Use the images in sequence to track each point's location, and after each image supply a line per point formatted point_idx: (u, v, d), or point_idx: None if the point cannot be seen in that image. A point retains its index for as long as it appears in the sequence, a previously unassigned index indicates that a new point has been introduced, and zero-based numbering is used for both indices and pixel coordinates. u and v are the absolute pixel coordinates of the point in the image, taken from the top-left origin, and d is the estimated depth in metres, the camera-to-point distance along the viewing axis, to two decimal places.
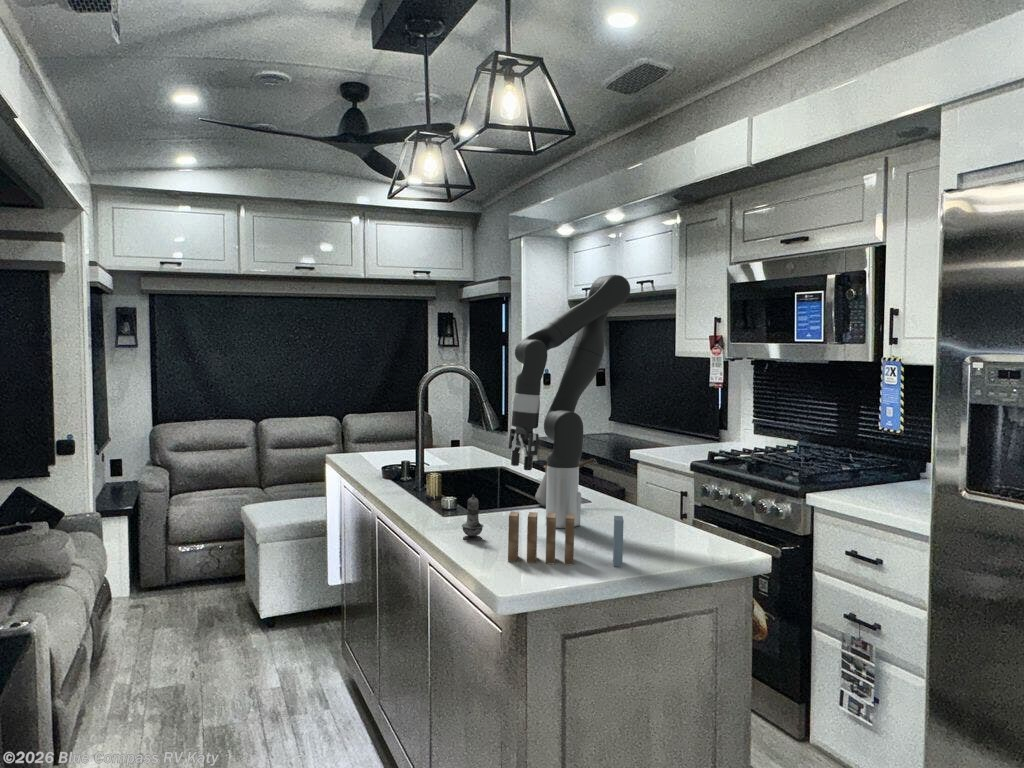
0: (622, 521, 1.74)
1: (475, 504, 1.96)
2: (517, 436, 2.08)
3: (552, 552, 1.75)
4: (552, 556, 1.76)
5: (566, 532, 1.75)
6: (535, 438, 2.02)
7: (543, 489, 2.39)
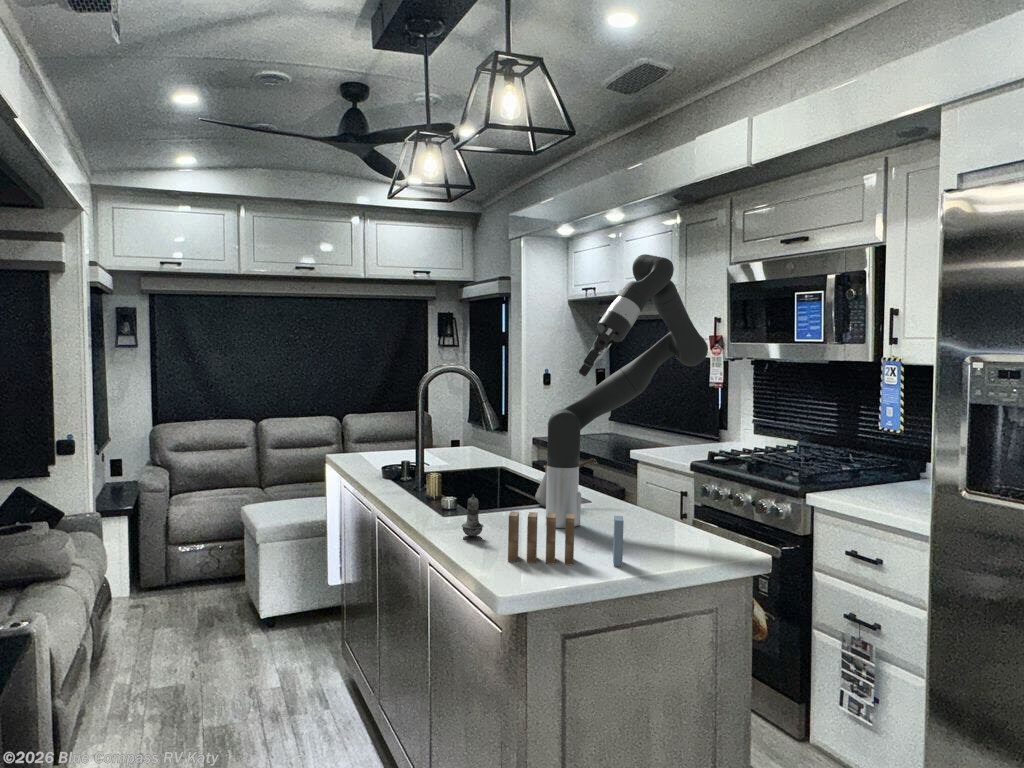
0: (622, 521, 1.74)
1: (475, 504, 1.96)
2: None
3: (552, 552, 1.75)
4: (552, 556, 1.76)
5: (566, 532, 1.75)
6: (609, 332, 1.78)
7: (543, 489, 2.39)
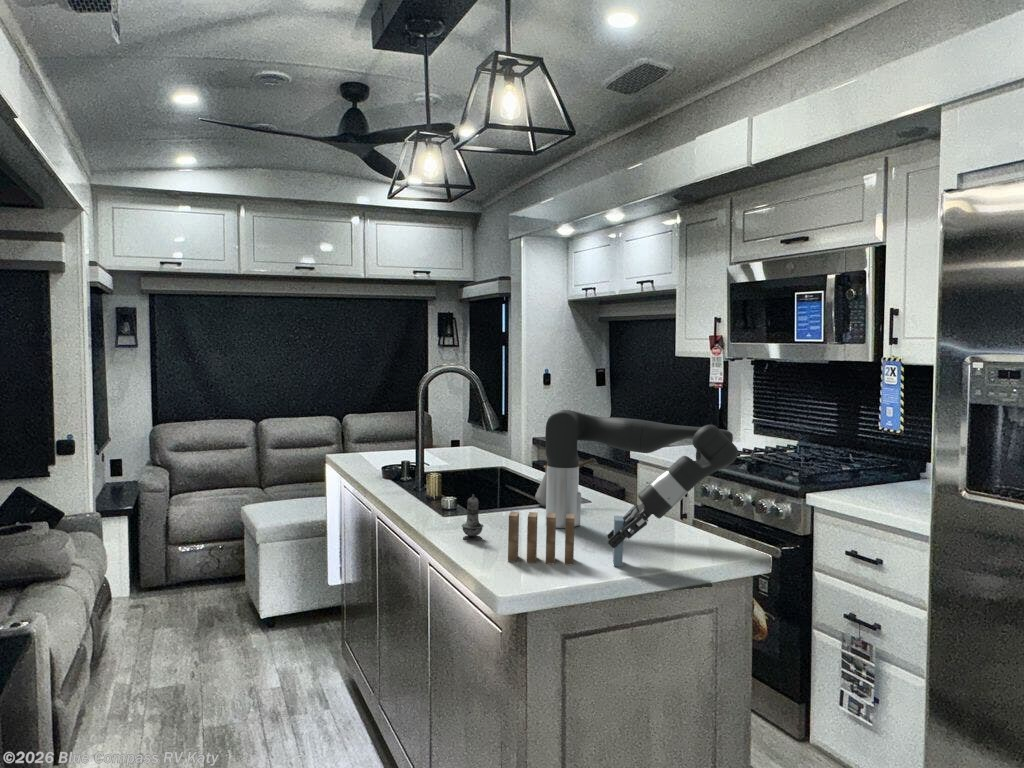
0: (622, 521, 1.74)
1: (474, 504, 1.96)
2: (635, 509, 1.76)
3: (552, 552, 1.75)
4: (552, 556, 1.76)
5: (566, 532, 1.75)
6: (640, 524, 1.69)
7: (543, 489, 2.39)
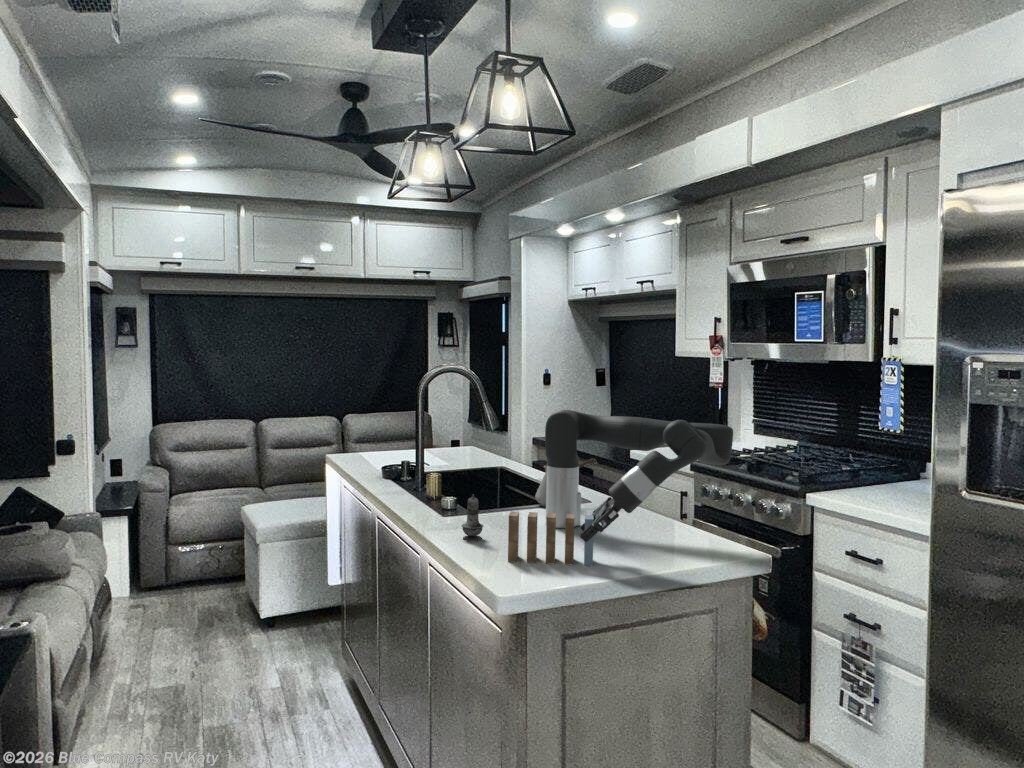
0: (592, 520, 1.74)
1: (474, 504, 1.96)
2: None
3: (552, 552, 1.75)
4: (552, 556, 1.76)
5: (566, 532, 1.75)
6: (612, 516, 1.69)
7: (543, 489, 2.39)
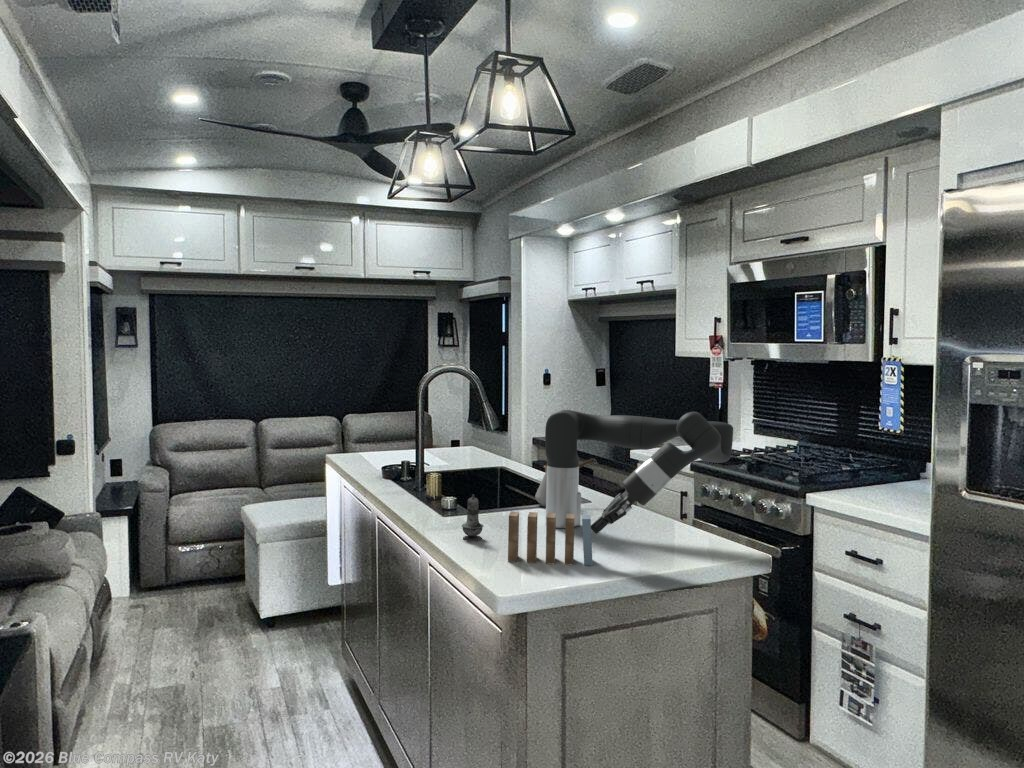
0: (589, 519, 1.74)
1: (475, 504, 1.96)
2: (619, 496, 1.76)
3: (552, 552, 1.75)
4: (552, 556, 1.76)
5: (566, 532, 1.75)
6: (619, 514, 1.70)
7: (543, 489, 2.39)
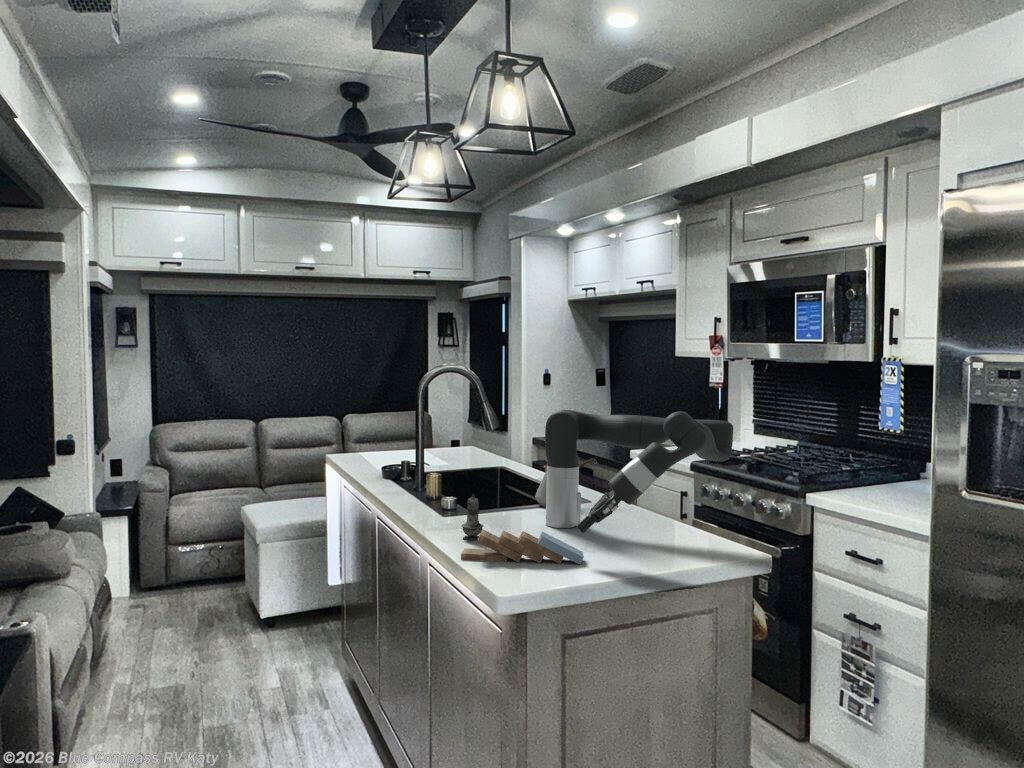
0: (542, 537, 1.75)
1: (475, 504, 1.96)
2: (606, 495, 1.77)
3: (532, 552, 1.76)
4: (536, 554, 1.75)
5: (531, 548, 1.76)
6: (605, 513, 1.71)
7: (543, 489, 2.39)
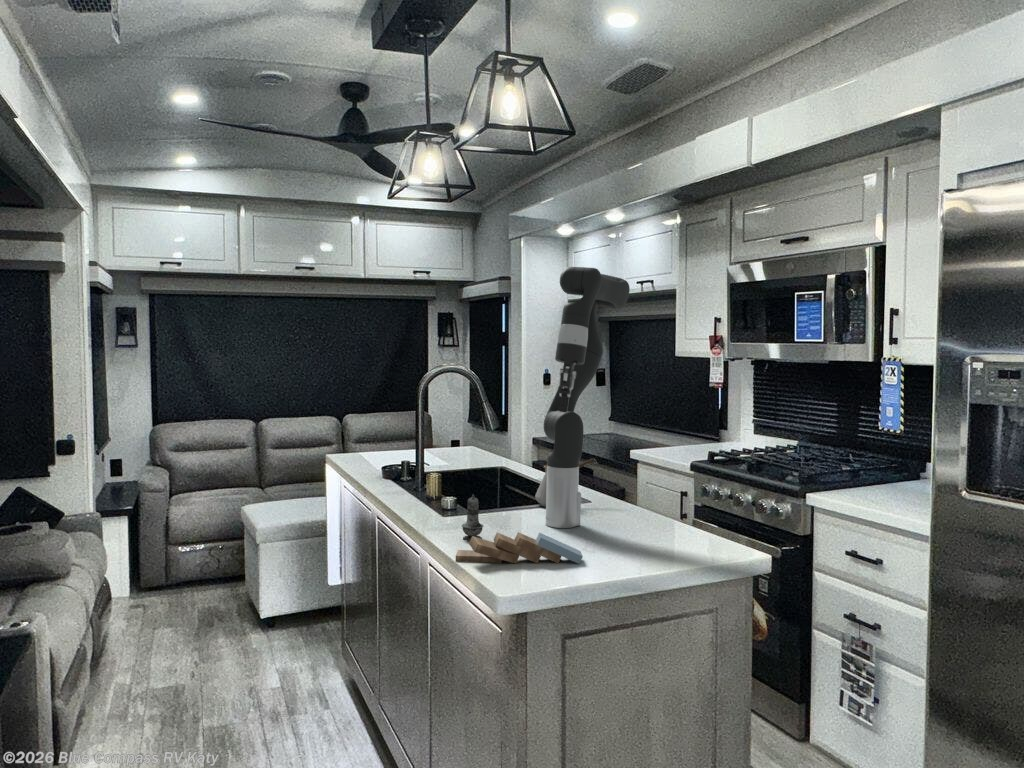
0: (541, 538, 1.75)
1: (475, 504, 1.96)
2: None
3: (529, 553, 1.75)
4: (533, 554, 1.75)
5: (529, 550, 1.75)
6: (566, 379, 1.82)
7: (543, 489, 2.39)
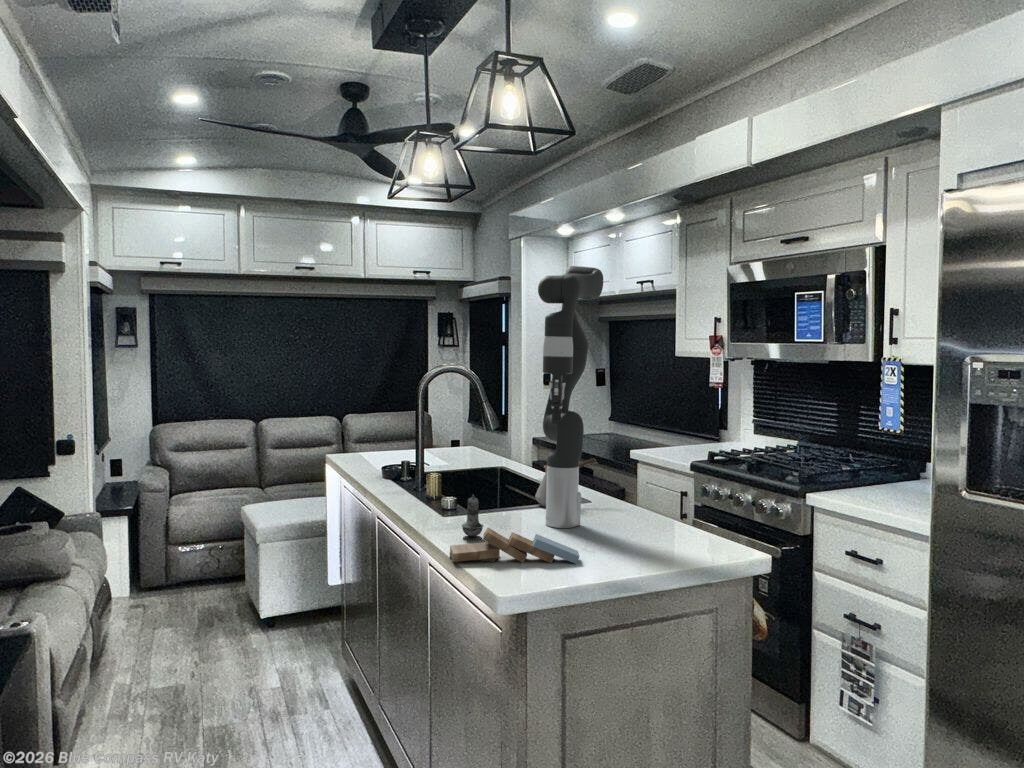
0: (537, 540, 1.75)
1: (475, 504, 1.96)
2: None
3: (516, 551, 1.75)
4: (520, 553, 1.75)
5: (521, 549, 1.76)
6: (557, 393, 1.82)
7: (543, 489, 2.39)
